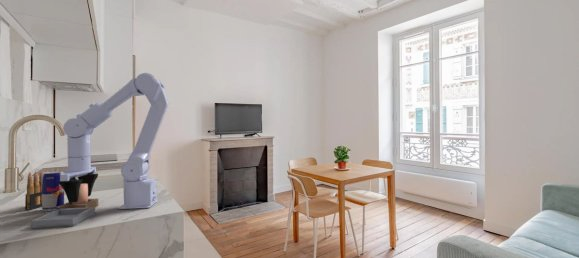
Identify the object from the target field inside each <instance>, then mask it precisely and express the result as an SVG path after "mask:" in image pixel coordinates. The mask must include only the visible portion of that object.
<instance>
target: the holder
mask: <svg viewBox="0 0 579 258" xmlns="http://www.w3.org/2000/svg"><path fill="white" fill-rule="evenodd" d="M89 207H95V208H97V207H99V198H88V202H87V203H85V204H72V202H70V203H69V201H68V202H66V203H65V202H64V204H63V205H61V206H60V209H66V208H89Z"/></svg>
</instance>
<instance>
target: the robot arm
mask: <svg viewBox="0 0 579 258" xmlns="http://www.w3.org/2000/svg"><path fill="white" fill-rule="evenodd" d="M138 96H145V97H146V99H147V101H148V102H149V104H150V108H149V110H148V112H147V114H146V117H145V120H144V123H143V125H142V128H141V131H140V133H139V136H138V137H137V141H136V143H135V146H134V148H133V151H131V154H130V155H129V156H128V159H127V160H126V162H125V163H123V164H122V166H121V168H120V174H121V177H123V180H122V181H123V204H122V205H120V206H119V207H118V208H117V209H118V210H126V209H127V210H128V209H130V210H131V209H132V210H133V209H149V208H151V207H152V206H153V205H155V204H156V203H157V202H158V188H157V187H158V184H157V179H155V178H149V175H148V171H149V170H150V159H151V151H152V149H153V146H154V144H155V142H156V139H157V136H158V133H159V131H160V127H161V125H162V123H163V121H164V117H165V114H166V112H167V109H168V107H169V102H168V98H167V94H166V88H165V86H164V84H163V83H162V81H161V80H160V79H158V78H156V77H155V76H154V75H153V74H151V73H148V72H142V73H140V74H138V75H137V76H136V77H134V78H132V79H130V80H129V81H128V82H127V83H126V84H125V85H124V86H122V87H121V88H119V90H118V91H116V92H115V93H114V94H113V95H112V96H110V97H109V98H108V99H106V100H105V101H104V102H95V103H91V104H89V105H88V107H89V108H88V109H86V110H85V111H84V112H82V113H78V114H77V115H76V116H75V117H73V118H69V119H68V120H67V121H65V123H64V124H63V128H62V130H63V133H64V134H65V135H66V136H67V138H66V140H67V143H66V144H67V170H64V171H63V173H64V174H61V175H60V180H59V184H60V185H61V186H62V188H63V189H64V194H65V195H66V198H67V200H68V202H69V203H70V202H77V201H78V197H79V189H80V185H81V184H83V183H86V184H88V197H91V195H92V192H93V189H94V188H93V187H94V185H95V182H96V180H97V179H98V177H99V173H96V172H97V166H92V165H91V164H92V163H91V161H92V160H91V135H92V134H93V133H94V130H95V129H96V128H98V127H99V126H100V125H102V123H104V122H106V121H107V120H108V119H109V118H111V117H112V114H113V110H115V109H117V108H118V107H119V106H121V105H122V104H123V103H125V102H127V101H128V100H130V99H132V97H138Z"/></svg>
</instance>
